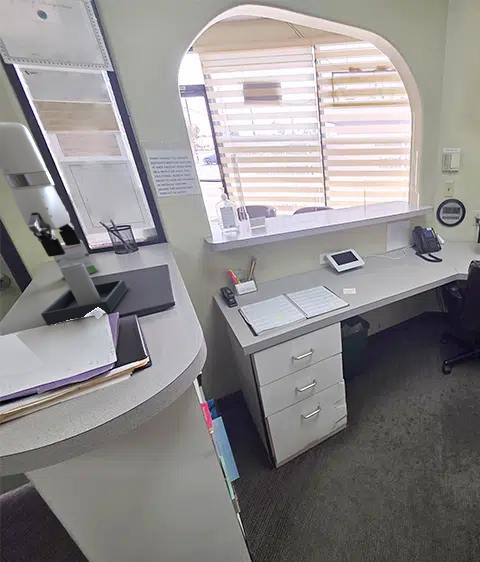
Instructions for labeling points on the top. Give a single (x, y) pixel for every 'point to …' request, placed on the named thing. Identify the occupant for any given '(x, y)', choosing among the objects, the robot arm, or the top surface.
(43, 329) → the top surface
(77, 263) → the beverage can
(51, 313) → the desk tray
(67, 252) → the ink box
